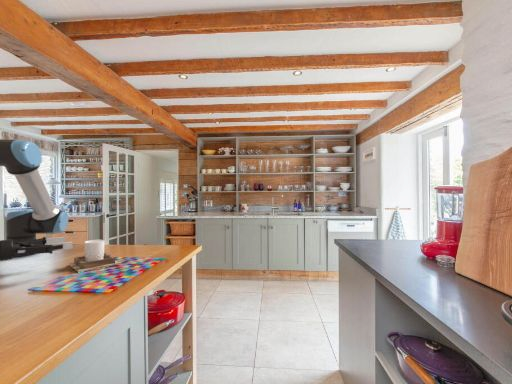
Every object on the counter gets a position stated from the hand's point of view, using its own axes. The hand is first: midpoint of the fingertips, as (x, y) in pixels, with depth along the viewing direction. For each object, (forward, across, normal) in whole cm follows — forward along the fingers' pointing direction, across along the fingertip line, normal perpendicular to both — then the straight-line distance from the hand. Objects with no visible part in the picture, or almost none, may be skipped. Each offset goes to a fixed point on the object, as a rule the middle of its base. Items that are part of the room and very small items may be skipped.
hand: (68, 242), depth 110 cm
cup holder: (+10, 0, -12) cm, 16 cm away
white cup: (+10, 0, -11) cm, 15 cm away
